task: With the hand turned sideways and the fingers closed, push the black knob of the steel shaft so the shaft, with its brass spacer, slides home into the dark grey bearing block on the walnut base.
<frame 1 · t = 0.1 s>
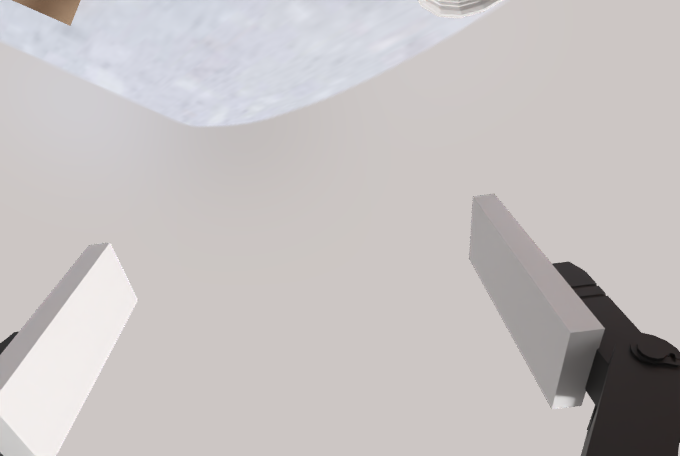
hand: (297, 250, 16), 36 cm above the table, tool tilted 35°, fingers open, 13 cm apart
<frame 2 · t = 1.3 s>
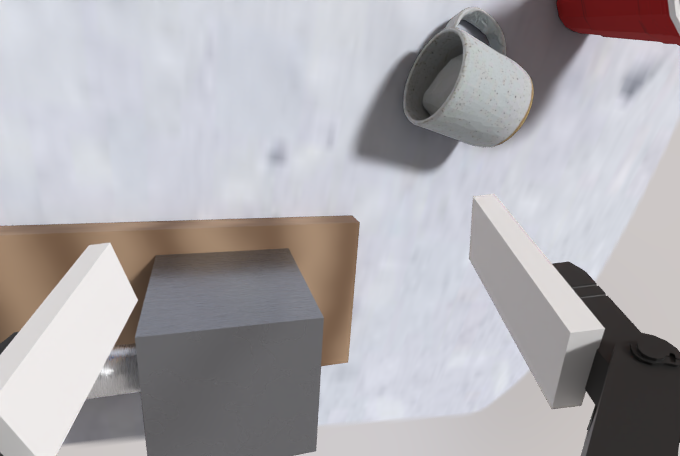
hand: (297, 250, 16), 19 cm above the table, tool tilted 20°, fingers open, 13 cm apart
ceramic mug: (446, 76, 36), on the table
shaft: (62, 376, 26), point 9 cm above the table, slide at 8.0 cm
bearing block: (175, 300, 35), resting on base plate
base plate: (175, 300, 35), on the table
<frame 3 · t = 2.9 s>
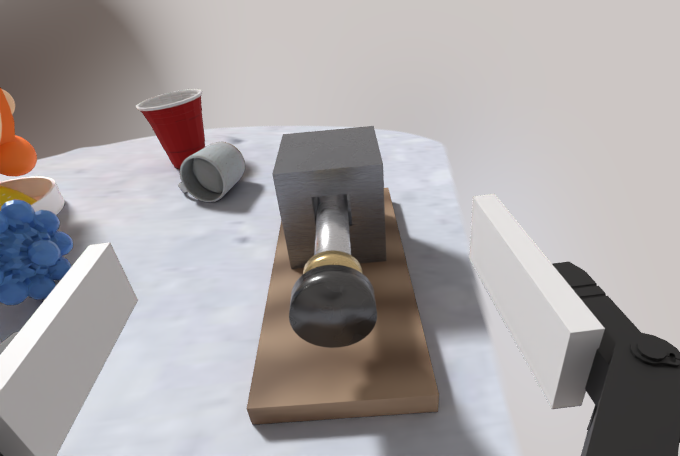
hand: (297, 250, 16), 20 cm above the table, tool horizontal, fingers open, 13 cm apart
ceramic mug: (213, 192, 66), on the table
shaft: (332, 241, 36), point 9 cm above the table, slide at 8.0 cm
bearing block: (340, 273, 46), resting on base plate
plastic cup: (189, 163, 76), on the table
grapes: (56, 296, 47), on the table
base plate: (340, 273, 46), on the table
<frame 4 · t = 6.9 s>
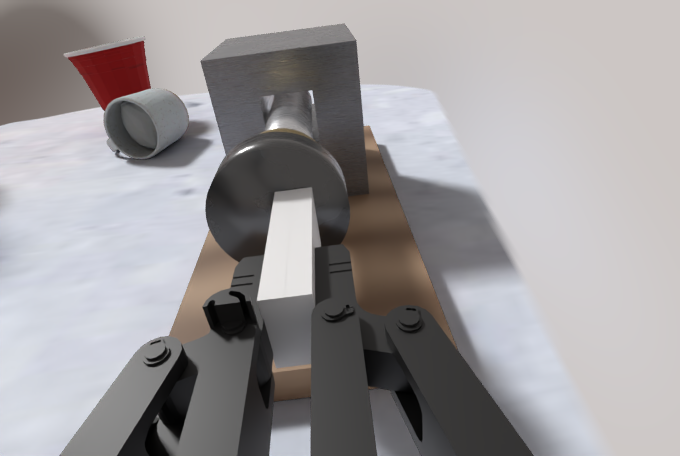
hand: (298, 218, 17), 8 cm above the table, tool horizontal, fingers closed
ceramic mug: (150, 150, 54), on the table
shaft: (287, 142, 25), point 9 cm above the table, slide at 7.4 cm, touching gripper
bearing block: (309, 217, 34), resting on base plate
plastic cup: (135, 127, 65), on the table
base plate: (309, 217, 34), on the table
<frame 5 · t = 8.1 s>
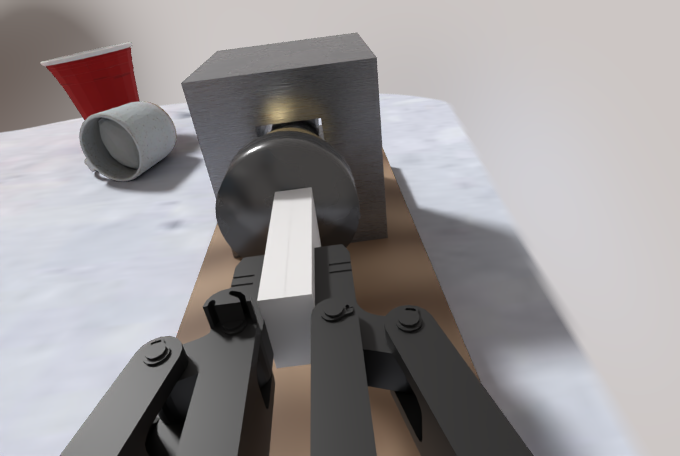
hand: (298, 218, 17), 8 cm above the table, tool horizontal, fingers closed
ceramic mug: (133, 170, 49), on the table
shaft: (294, 141, 25), point 9 cm above the table, slide at 1.1 cm, touching gripper
bearing block: (315, 263, 29), resting on base plate
plastic cup: (122, 141, 59), on the table
base plate: (315, 263, 29), on the table
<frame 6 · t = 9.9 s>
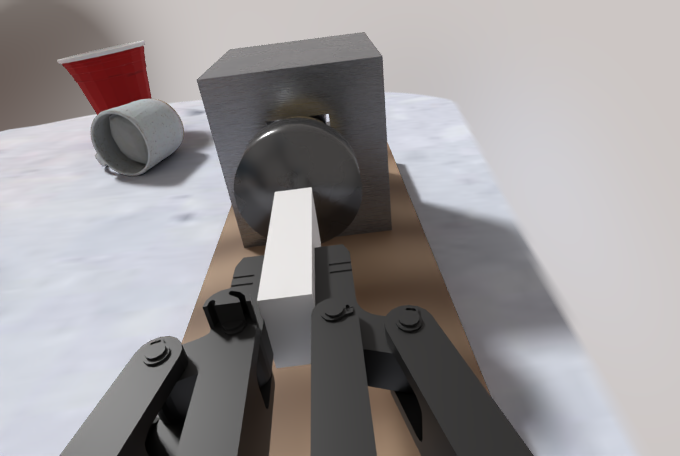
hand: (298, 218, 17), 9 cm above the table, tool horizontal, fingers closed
ceramic mug: (142, 165, 51), on the table
shaft: (303, 130, 27), point 8 cm above the table, slide at 0.0 cm
bearing block: (321, 254, 30), resting on base plate
plastic cup: (135, 137, 61), on the table
base plate: (321, 254, 30), on the table
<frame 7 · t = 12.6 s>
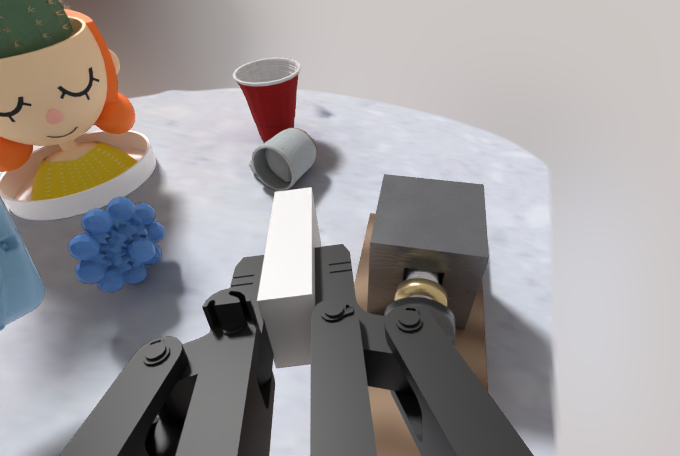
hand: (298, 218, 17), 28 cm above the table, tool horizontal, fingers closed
ceramic mug: (281, 176, 66), on the table
shaft: (423, 259, 41), point 8 cm above the table, slide at 0.0 cm
bearing block: (413, 325, 46), resting on base plate
plastic cup: (276, 135, 75), on the table
potted cactus: (82, 174, 67), on the table
grapes: (147, 282, 51), on the table
base plate: (413, 325, 46), on the table
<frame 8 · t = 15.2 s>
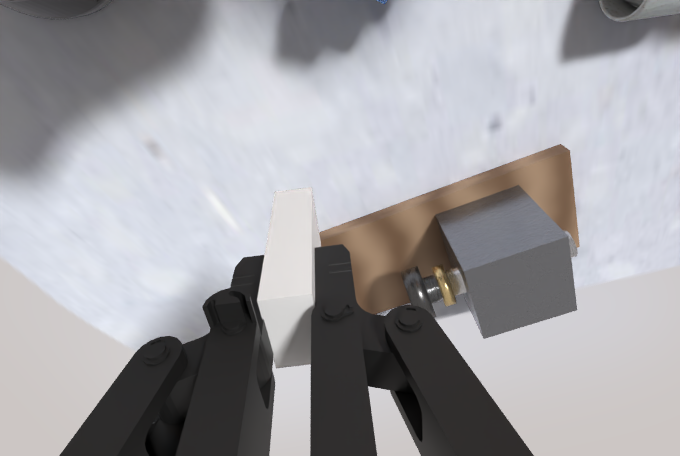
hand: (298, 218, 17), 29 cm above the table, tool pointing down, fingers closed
shaft: (487, 270, 46), point 9 cm above the table, slide at 0.0 cm
bearing block: (448, 235, 54), resting on base plate
base plate: (448, 235, 54), on the table
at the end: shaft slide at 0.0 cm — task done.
